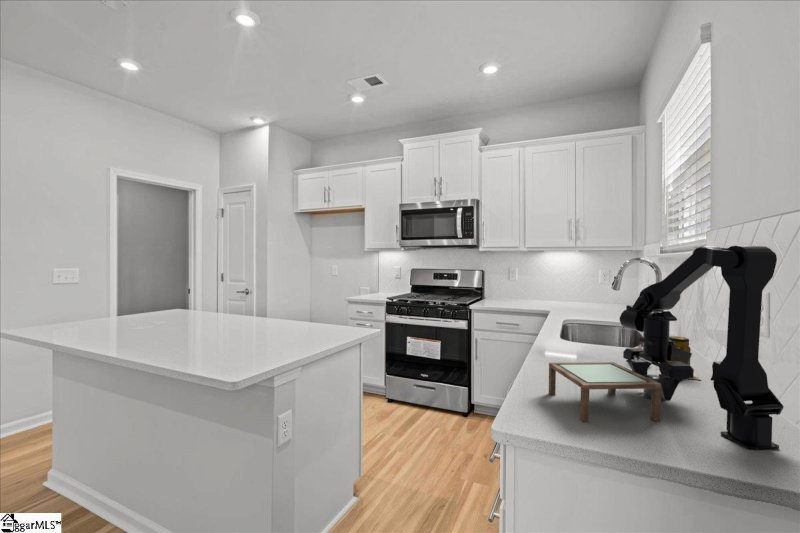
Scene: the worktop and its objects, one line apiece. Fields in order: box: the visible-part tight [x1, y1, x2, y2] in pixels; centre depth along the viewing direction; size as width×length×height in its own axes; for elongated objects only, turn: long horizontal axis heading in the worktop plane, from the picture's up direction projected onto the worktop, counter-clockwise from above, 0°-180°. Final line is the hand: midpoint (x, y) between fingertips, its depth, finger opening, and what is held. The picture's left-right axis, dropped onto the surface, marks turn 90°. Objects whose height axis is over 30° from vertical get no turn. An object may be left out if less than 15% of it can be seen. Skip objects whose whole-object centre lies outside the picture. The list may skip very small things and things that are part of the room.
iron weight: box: [643, 374, 667, 402], centre depth 101 cm, size 5×5×6 cm
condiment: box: [668, 335, 702, 381], centre depth 120 cm, size 7×8×12 cm
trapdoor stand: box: [548, 361, 662, 423], centre depth 95 cm, size 18×18×8 cm
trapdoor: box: [560, 364, 647, 383], centre depth 95 cm, size 14×14×1 cm
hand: (654, 393), depth 101 cm, fingers open, 9 cm apart
